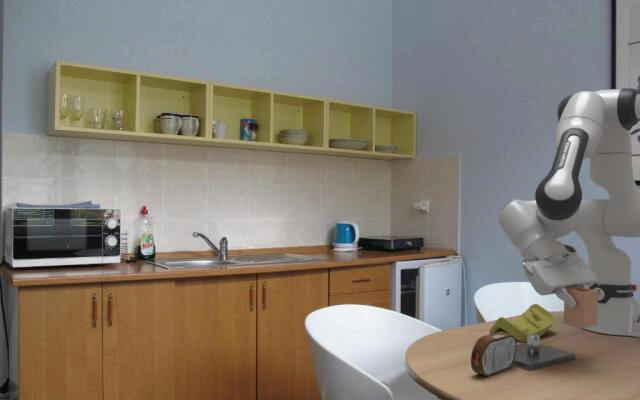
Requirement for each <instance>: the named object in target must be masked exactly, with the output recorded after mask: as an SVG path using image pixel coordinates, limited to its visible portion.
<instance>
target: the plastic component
mask: <svg viewBox="0 0 640 400" xmlns="http://www.w3.org/2000/svg"><path fill="white" fill-rule="evenodd" d="M555 323H556V318H555V316H554V315H553V314H552V313H551V312H550V311H548V310H547V309H545V308H544V307H543V306H541V305H540V304H538V303H533V304H531V305H530V306H529V307H528V308H527V309H526V310H525V311H523V313H522V314H521V315H519V316H518V317H516V318H514V319H511V320H508V319H507V318H506V317H504V316H501V317H499V318H497V320H496V321H495V323H494V324H493V326H492V327H491V328H490V330H489V333H490V334H493V333H497V332H505V333H507V334H510V335H512V336H514V337H515V339H516V341H519V342H522V343H527V336H528V334H535V335H539V336H540V337H541V336H543V335H545V333H546V332H547V331H548V330H549V329H551V328H552V327H553V326H554V324H555Z"/></svg>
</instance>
